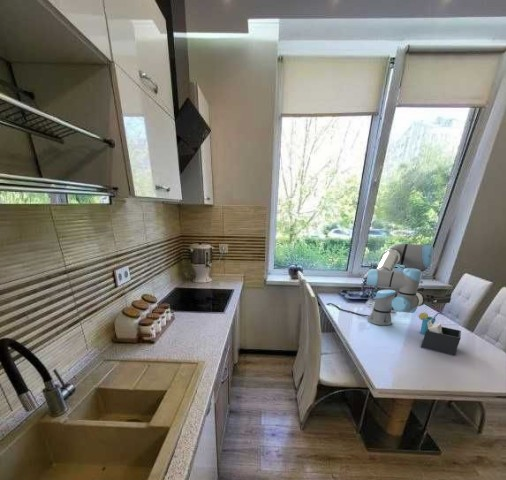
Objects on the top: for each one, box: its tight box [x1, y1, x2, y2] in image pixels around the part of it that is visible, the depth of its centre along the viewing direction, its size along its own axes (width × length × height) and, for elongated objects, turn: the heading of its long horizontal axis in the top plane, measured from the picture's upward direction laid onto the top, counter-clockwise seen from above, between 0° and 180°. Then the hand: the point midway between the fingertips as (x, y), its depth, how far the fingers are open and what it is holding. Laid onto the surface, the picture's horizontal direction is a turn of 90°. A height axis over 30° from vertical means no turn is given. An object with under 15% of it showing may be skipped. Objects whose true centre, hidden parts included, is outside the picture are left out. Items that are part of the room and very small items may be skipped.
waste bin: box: [420, 326, 462, 356], centre depth 161 cm, size 17×13×11 cm
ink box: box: [427, 320, 443, 334], centre depth 162 cm, size 8×5×15 cm, turn 137°
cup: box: [418, 312, 445, 336], centre depth 179 cm, size 14×8×15 cm, turn 84°
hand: (435, 293), depth 146 cm, fingers open, 13 cm apart
